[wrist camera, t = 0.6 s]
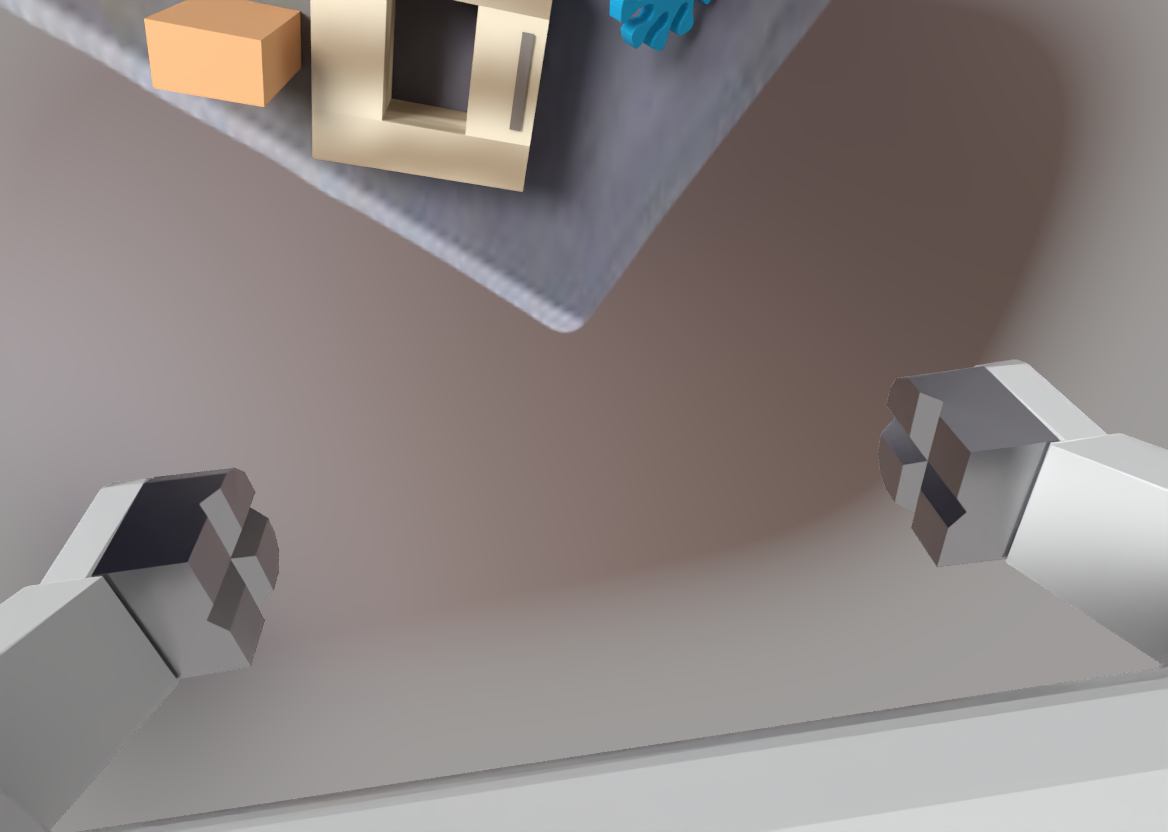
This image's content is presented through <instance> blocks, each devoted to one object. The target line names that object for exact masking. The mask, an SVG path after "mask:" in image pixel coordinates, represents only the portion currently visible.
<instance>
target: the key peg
mask: <svg viewBox="0 0 1168 832" xmlns="http://www.w3.org/2000/svg"><path fill="white" fill-rule="evenodd" d="M144 21H145V29H146V36H147V44H148V52H149V60H150V67H151V75H152V83H153V88H156V89H162V90H168V91H174V92H179V93H185V94H191V95H197V96H203V97H209V98H214V99H220V100H226V101H232V102H238V103H243V104H249V105H255V106H261V107H265V106H266V105H267V104H268V103H269V102H270V100H271V99H272V98H273V97H274V96H275V95H276V94H277V93H278V92H279V91H280V90H281V89H282V88H283V87H284V86H285V85H286V84H287V82H288V81H289V80H290V79H291V78H292V77H293V76H294V75H295V74H296V73H297V72H298V71H299V70H300V69H301V22H300V11H297V10H292V9H287V8H282V7H277V6H272V5H266V4H261V3H256V2H251V1H246V0H186V1H184V2H181V3H179V4H177V5H174V6H172V7H170V8H168V9H165V10H163V11H161V12H158V13H156V14H154V15H151V16H149V17H147V18H144Z"/></svg>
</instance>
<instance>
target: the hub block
mask: <svg viewBox="0 0 1168 832" xmlns="http://www.w3.org/2000/svg"><path fill="white" fill-rule="evenodd" d="M455 1H460V2H465V3H470V4H475V5H478V13H477V23H476V32H475V42H474V52H473V61H472V71H471V81H470V90H469V100H468V110H467V112H464V111H458V110H453V109H447V108H442V107H436V106H430V105H425V104H419V103H414V102H408V101H403V100H397V99H392V98H391V94H392V72H393V51H394V29H395V8H396V0H311V76H312V156H313V158H315V159H322V160H328V161H334V162H340V163H346V164H353V165H359V166H365V167H371V168H378V169H384V170H390V171H396V172H402V173H409V174H415V175H421V176H427V177H433V178H440V179H446V180H452V181H458V182H465V183H471V184H477V185H483V186H489V187H496V188H502V189H508V190H514V191H521V192H523V187H524V181H525V174H526V168H527V161H528V155H529V148H530V142H531V135H532V129H533V122H534V116H535V109H536V103H537V96H538V90H539V83H540V77H541V70H542V64H543V57H544V51H545V44H546V38H547V31H548V25H549V18H550V12H551V5H552V0H455Z"/></svg>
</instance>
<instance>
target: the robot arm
mask: <svg viewBox="0 0 1168 832" xmlns="http://www.w3.org/2000/svg"><path fill="white" fill-rule="evenodd" d="M887 407H888V408H889V409H890V411H891V412H892V414H893V415H894V416H895V419H894V420H893V421H892V422H891V423H890V424H889V425H888V426H887V427H886V428H885V429H884V430H883V432H882V433H881V436H880V443H879V449H878V459H879V467H880V474H881V477H882V480H883V482H884V485H885V487H886V490H887V491H888V493H889V494H890V496H891V498H892V499H893V501H894V502H895V503H896V504H898V505H900V506H902V507H904V508H905V509H907V510H909V511H911V512H913V513H915V514H914V518H913V522H912V526H911V528H912V530H913V532H914V533H915V535H916V536H917V537H918V539H919V541H920V542H921V544H922V545H923V547H924V548H925V550H926V551H927V553H928V554H929V556H930V557H931V559H932V560H933V562H934V563H935V565H936V566H937V567H943V566H951V565H960V564H968V563H977V562H984V561H993V560H1002V559H1007V560H1006V563H1007V564H1009V565H1011V566H1012V567H1014V568H1015V569H1017V570H1018V571H1020V572H1021V573H1023V574H1024V575H1026V576H1027V577H1029V578H1031V579H1032V580H1034V581H1035V582H1037V583H1038V584H1040V585H1041V586H1043V587H1044V588H1046V589H1047V590H1049V591H1050V592H1052V593H1053V594H1055V595H1057V596H1058V597H1060V598H1061V599H1063V600H1064V601H1066V602H1067V603H1069V604H1070V605H1072V606H1073V607H1075V608H1077V609H1078V610H1079V611H1081V612H1083V613H1084V614H1086V615H1087V616H1089V617H1090V618H1092V619H1094V620H1095V621H1096V622H1098V623H1100V624H1101V625H1102V626H1104V627H1106V628H1107V629H1109V630H1110V631H1112V632H1113V633H1115V634H1116V635H1118V636H1119V637H1121V638H1122V639H1124V640H1125V641H1127V642H1129V643H1130V644H1132V645H1133V646H1135V647H1136V648H1138V649H1139V650H1141V651H1142V652H1144V653H1146V654H1147V655H1148V656H1150V657H1152V658H1153V659H1155V660H1156V661H1158V662H1159V663H1161V665H1160V666H1159V668H1156V669H1149V670H1143V671H1137V672H1130V673H1123V674H1117V675H1110V676H1103V677H1096V678H1090V679H1083V680H1077V681H1070V682H1064V683H1057V684H1051V685H1044V686H1037V687H1030V688H1023V689H1017V690H1010V691H1004V692H998V693H991V694H984V695H977V696H971V697H965V698H958V699H952V700H945V701H939V702H932V703H925V704H919V705H912V706H905V707H899V708H892V709H886V710H880V711H873V712H866V713H860V714H853V715H847V716H840V717H833V718H827V719H821V720H814V721H807V722H801V723H794V724H788V725H781V726H775V727H768V728H761V729H755V730H748V731H742V732H735V733H729V734H722V735H716V736H709V737H702V738H695V739H689V740H682V741H676V742H669V743H662V744H655V745H649V746H642V747H636V748H629V749H623V750H615V751H609V752H602V753H596V754H589V755H582V756H575V757H569V758H562V759H556V760H549V761H543V762H536V763H529V764H522V765H516V766H509V767H502V768H496V769H489V770H482V771H476V772H470V773H462V774H456V775H449V776H443V777H436V778H430V779H422V780H416V781H409V782H403V783H397V784H389V785H383V786H376V787H370V788H363V789H356V790H350V791H343V792H336V793H330V794H324V795H317V796H310V797H304V798H297V799H290V800H284V801H277V802H270V803H264V804H257V805H250V806H245V807H237V808H231V809H224V810H217V811H211V812H205V813H198V814H191V815H184V816H178V817H171V818H165V819H158V820H151V821H145V822H138V823H131V824H125V825H119V826H112V827H105V828H99V829H92V830H85V831H79V832H1168V450H1166V449H1163V448H1160V447H1157V446H1155V445H1151V444H1149V443H1146V442H1143V441H1141V440H1138V439H1135V438H1132V437H1130V436H1127V435H1124V434H1121V433H1119V434H1111V435H1107V434H1106V433H1105V432H1104V431H1103V430H1102V429H1101V428H1099V427H1098V426H1097V425H1096V424H1095V423H1094V422H1093V421H1091V420H1090V419H1089V418H1088V417H1087V416H1086V415H1085V414H1084V413H1082V412H1081V411H1080V410H1079V409H1078V408H1077V407H1076V406H1075V405H1074V404H1072V403H1071V402H1070V401H1069V400H1068V399H1067V398H1066V397H1065V396H1063V395H1062V394H1061V393H1060V392H1059V391H1058V390H1057V389H1055V388H1054V387H1053V386H1052V385H1051V384H1050V383H1049V382H1048V381H1047V380H1046V379H1044V378H1043V377H1042V376H1041V375H1040V374H1039V373H1038V372H1037V371H1035V370H1034V369H1033V368H1032V367H1031V366H1030V365H1029V364H1028V363H1025V362H1022V361H1019V360H1016V359H1014V360H1007V361H1002V362H995V363H989V364H983V365H977V366H975V367H973V368H967V369H959V370H952V371H944V372H937V373H930V374H923V375H916V376H909V377H902V378H896V380H895V381H894V383H893V384H892V386H891V388H890V391H889V396H888V400H887ZM254 495H255V490H254V488H253V486H252V485H251V483H250V481H249V479H248V477H247V475H246V473H245V472H244V471H241V470H239V469H237V468H228V469H219V470H210V471H202V472H193V473H184V474H176V475H167V476H158V477H154V478H144V479H136V480H129V481H120V482H113V483H111V484H109V485H107V486H105V487H103V488H101V490H100V491H99V492H98V494H97V496H96V497H95V499H94V500H93V502H92V503H91V505H90V506H89V508H88V510H87V511H86V513H85V514H84V516H83V517H82V519H81V521H80V522H79V524H78V525H77V527H76V528H75V530H74V531H73V533H72V535H71V536H70V538H69V540H68V541H67V542H66V544H65V546H64V547H63V549H62V550H61V552H60V553H59V555H58V557H57V558H56V560H55V561H54V563H53V565H52V566H51V567H50V569H49V571H48V572H47V574H46V575H45V577H44V579H43V580H42V582H41V583H40V585H34V586H28V587H24V588H23V589H21V590H20V591H19V592H17V593H16V594H14V595H13V596H12V597H10V598H9V599H8V600H6V601H4V602H3V603H2V604H0V832H51V831H50V830H51V829H52V827H53V826H54V825H55V824H56V823H57V822H58V821H59V819H60V818H61V817H62V816H63V815H64V813H66V811H67V810H68V809H69V808H70V807H71V806H72V805H73V803H74V802H75V801H76V800H77V799H78V798H79V797H80V795H81V794H82V793H83V792H84V791H85V790H86V789H87V787H88V786H89V785H90V784H91V783H92V782H93V780H94V779H95V778H96V777H97V776H98V775H99V774H100V773H101V771H102V770H103V769H104V768H105V767H106V766H107V764H109V762H110V761H111V760H112V759H113V758H114V757H115V756H116V754H117V753H118V752H119V751H120V750H121V749H122V748H123V746H124V745H125V744H126V743H127V742H128V741H129V740H130V738H131V737H132V736H133V735H134V734H135V733H136V731H137V730H138V729H139V728H140V727H141V726H142V725H143V724H144V722H145V721H146V720H147V719H148V718H149V717H150V716H151V714H152V713H153V712H154V711H155V710H156V709H157V708H158V706H159V705H160V704H161V703H162V702H163V701H164V700H165V698H166V697H167V696H168V695H169V694H170V693H171V692H172V690H173V689H174V688H175V687H176V686H177V685H178V684H179V681H178V680H177V679H182V678H188V677H194V676H199V675H206V674H211V673H217V672H223V671H229V670H235V669H240V668H246V667H251V665H252V662H253V658H254V655H255V652H256V648H257V645H258V642H259V639H260V635H261V632H262V629H263V625H264V622H265V619H264V618H263V616H262V614H261V612H260V610H259V608H258V606H259V605H260V604H261V603H262V602H263V601H264V600H265V599H266V598H267V597H268V596H269V595H270V594H271V593H272V592H273V591H274V588H275V584H276V581H277V577H278V574H279V547H278V543H277V539H276V536H275V532H274V529H273V527H272V525H271V523H270V521H269V519H268V518H267V517H266V516H264V515H262V514H261V513H259V512H257V511H256V510H254V509H252V508H251V507H250V506H251V503H252V500H253V497H254Z"/></svg>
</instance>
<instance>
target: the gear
mask: <svg viewBox="0 0 1168 832" xmlns="http://www.w3.org/2000/svg"><path fill="white" fill-rule="evenodd" d="M699 1H701V2H703V3H705V4H708V3H709V2H710V1H711V0H699ZM693 5H694V0H610V16H612V17H614V18H615V19H617V20H618V21H620V22H625V23H624V24H623V25H622V27H621V35H622V37H623V39H624V41H625V42H626V43H627V44H629V45H631V46H632V47H634V48H635V49H637V48H638V47H639V46H640V45H641V44H642V43H645V44H647V45H648V46H650V47H651V48H653V49H655V50H662V49H663V48H664V46H665V44H666V42H667V38H668V33H669V30H671V31H673V32H674V33H676V34H678V35H683V34H685V33H686V32H688V31H689V30H690V29H691V28H692V26H693V23H694V16H693ZM642 6H643V8H642V10H641V12H640V14H639V15H638V16H636V17H634V18H630V17H631V16H632V15H633V14H634V13H635V12H636V11H637V10H638V9H639V8H641V7H642ZM629 18H630V19H629Z"/></svg>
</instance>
